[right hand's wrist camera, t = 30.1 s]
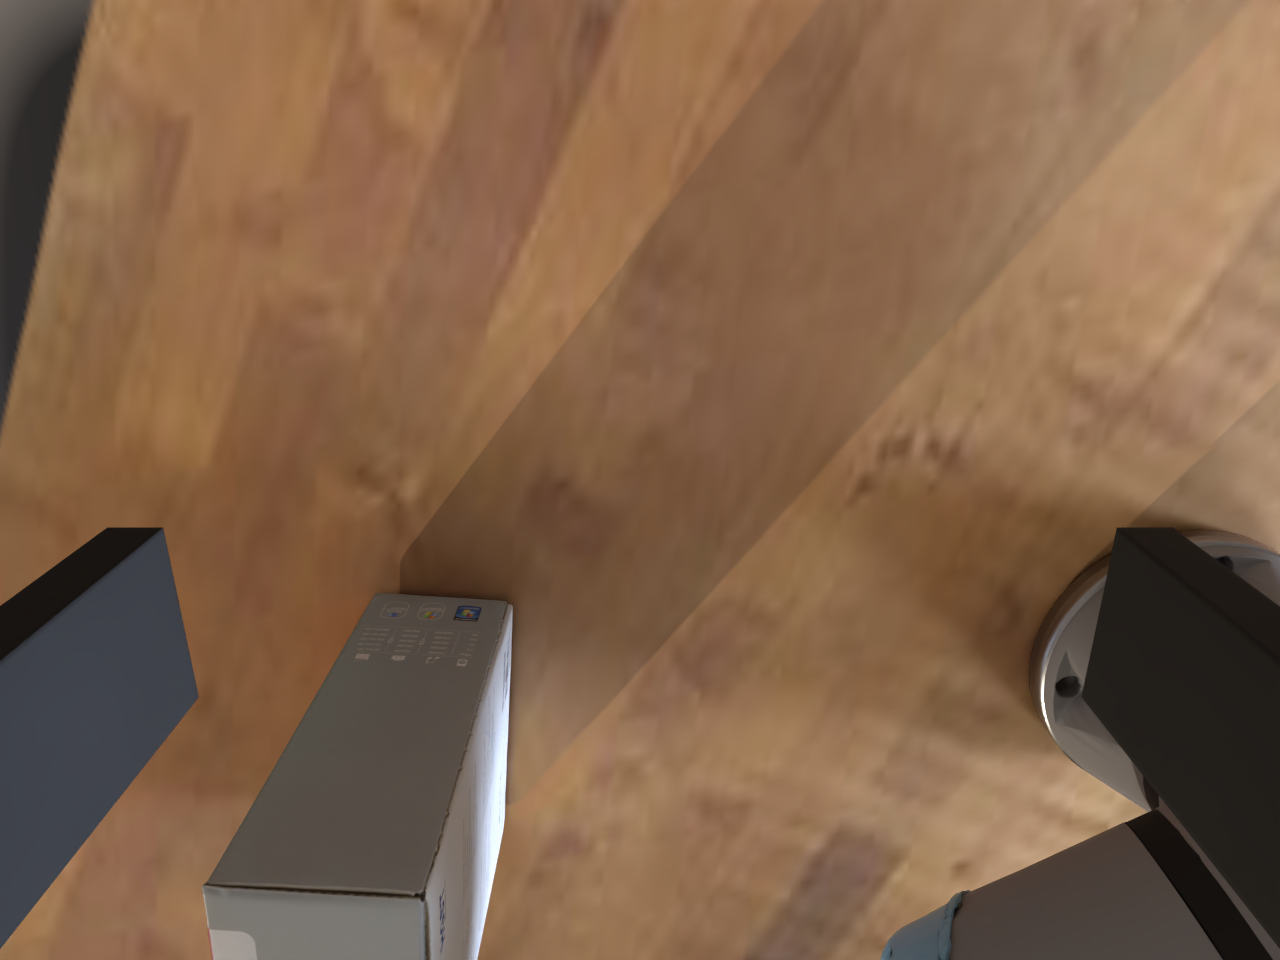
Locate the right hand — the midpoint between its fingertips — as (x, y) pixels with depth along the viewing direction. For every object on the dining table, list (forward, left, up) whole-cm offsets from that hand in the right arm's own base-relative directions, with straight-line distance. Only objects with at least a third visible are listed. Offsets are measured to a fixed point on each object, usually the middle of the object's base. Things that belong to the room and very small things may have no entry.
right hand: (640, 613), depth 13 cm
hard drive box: (-8, +25, -31) cm, 41 cm away
